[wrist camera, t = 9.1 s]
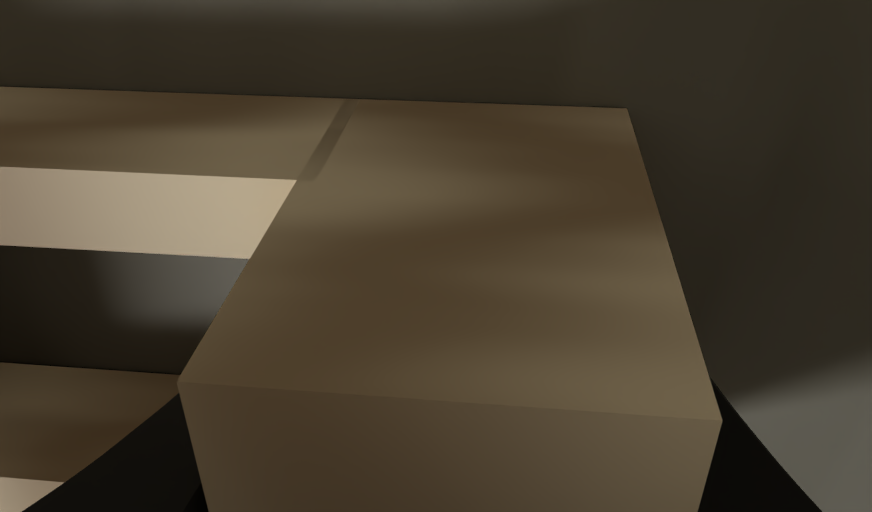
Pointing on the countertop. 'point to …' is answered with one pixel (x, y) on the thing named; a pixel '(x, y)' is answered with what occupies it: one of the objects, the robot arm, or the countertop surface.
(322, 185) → the tan boxy piece
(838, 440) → the countertop surface
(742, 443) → the robot arm
